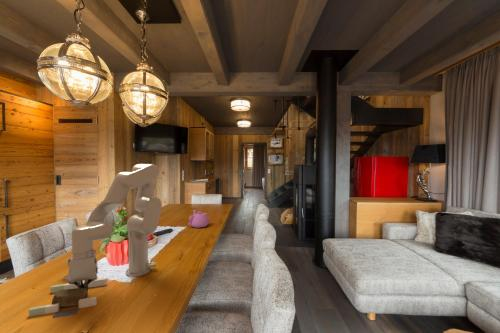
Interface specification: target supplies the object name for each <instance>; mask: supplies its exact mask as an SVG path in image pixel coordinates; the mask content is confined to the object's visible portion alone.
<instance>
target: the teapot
mask: <svg viewBox="0 0 500 333" xmlns="http://www.w3.org/2000/svg"><path fill="white" fill-rule="evenodd" d="M188 220H189V222H188V226H191V227H193V228H197V229H200V228H205V227H207V226H208V224H209V223H210V222H211V220H210V214H209V212H208V213H207V212H202V210H201V211H196V210H195V209H193V215H189V219H188Z"/></svg>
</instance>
